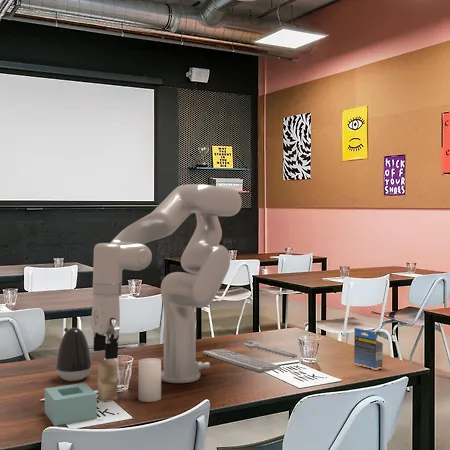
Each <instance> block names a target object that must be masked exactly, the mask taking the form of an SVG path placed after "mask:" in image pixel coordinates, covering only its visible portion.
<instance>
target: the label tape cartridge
mask: <svg viewBox="0 0 450 450" xmlns="http://www.w3.org/2000/svg"><path fill="white" fill-rule="evenodd" d="M376 335H377V334H376V331H371V330H368V329H362V328H357V327H354V346H353V347H354V353H353V354H354V356H353V357H354V360H353V361H354V363H358V364H362V365H366V366H369V367H373V368H378V367H382V368H383V352H384V350H383V345H384V344H383V343H382V342H381V341H378V340H377V337H376ZM354 363H353V364H354Z"/></svg>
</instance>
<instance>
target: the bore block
mask: <svg viewBox="0 0 450 450" xmlns="http://www.w3.org/2000/svg"><path fill="white" fill-rule="evenodd" d="M97 402H98V392H96V391H95V390H93V389H92V388H91V387H90V386H89V385H88V384H87V383H86V382H80V383H73V384H68V385H67V384H66V385H60V386H53V387H45V388H44V414H45V416H47V418H48V419H49V420H50V423H52V425H53V426H54V427H56V426H57V427H58V426H63V425H69V424H75V423H79V422H86V421H90V420H96V419H97V418H98V417H97V416H98V413H97V410H98V407H97V405H98V403H97Z"/></svg>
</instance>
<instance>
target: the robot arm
mask: <svg viewBox="0 0 450 450" xmlns="http://www.w3.org/2000/svg"><path fill="white" fill-rule="evenodd" d="M242 203H243V201H242V197H241V195H240V193H239V192H238V191H237V190H235V189H234V188H230V187H223V186H217V185H211V184H203V183H202V184H201V183H198V184H197V183H196V184H195V183H192V184H191V183H190V184H181V185H179V186H177V187H175V188H174V189H173V190H172V191H171V192H170V193H169V194H168V195H167V196H166V197H165V199H164V200H162V201H161V203H159V204H158V206H156V208H155V209H154V210H153V211H151V213H149V214H147V215H145V216H144V217H142V218H139V219H138V220H136V221H134V222H133V223H131V224H129V225H128V226H127V227H125V228H124V229H123V230H121V231H120V232H119V233H118V234H117V235H116V236H115V237H114V238H113V239H112V240H111V242H103V243H102V242H101V243H96V244H95V245H94V247H93V263H92V265H93V268H92V270H93V271H92V297H93V299H92V306H91V307H92V309H91V320H90V328H91V330H92V331H93V351H94V352H103V351H105V352H104V358H105V359H114V360H116V359H118V357H119V356H118V355H119V341H120V340H119V338H120V324H121V323H120V318H121V317H120V316H121V315H120V313H121V312H120V297H121V296H122V290H123V289H122V286H123V285H122V284H123V271H124V270H128V271H141V270H144V269H146V268H148V266H150V264H151V262H152V258H153V254H152V251H151V249H150V248H149V247H148V245H146V244H147V243H150V242H153V241H155V240H160V239H163V238H165V237H168V236H170V235H173V233H175V232H176V230H177V229H178V228H179V227H180V226H181V225H182V224H183V222H185V220H186V219H187V218H189V216H190V215H192V214H195V217H196V227H195V230H194V232H193V234H192V236H191V238H190V240H189V241H188V244H187V245H186V247H185V249H184V251H183V253H182V255H181V258H180V265H181V268H182V269H183V270H184V271H185V272H182V271H174V272H171V273H168V274H167V275H166V276H165V277H164V278H163V280H162V281H161V283H160V284H161V285H160V295H161V301H162V306H163V307H162V308H163V370H161V382H165V383H170V384H186V383H187V384H188V383H193V382H196V381H198V380H199V379H200V378H201V376H202V375H201V372H200V371H202V370H207V369H210V367H211V363H210V361H205V362H202V361H197V360H196V351H197V349H196V342H197V341H196V337H197V333H196V332H197V327H196V326H197V319H196V313H195V310H194V308H206V307H208V306H210V305H211V304H212V302H213V301H214V299H215V298H216V296H217V294H218V292H219V290H220V289H221V286H222V284H223V282H224V280H225V278H226V275H228V272H229V269H230V265H231V255H230V253H229V251H228V249H227V247H225V246H224V245H221V244H220V242H221V240H222V236H223V231H222V227H221V223H220V221H219V217H233V216H235V215H236V214H238V213H239V212H240V210H241V209H242Z"/></svg>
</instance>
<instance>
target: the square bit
mask: <svg viewBox="0 0 450 450" xmlns="http://www.w3.org/2000/svg"><path fill="white" fill-rule="evenodd" d="M97 399H99V400H100V401H101V402H102V403H104V402H110V401H116V400H118V361H117V360H116V359H106V358H105V359H98V360H97Z"/></svg>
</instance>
